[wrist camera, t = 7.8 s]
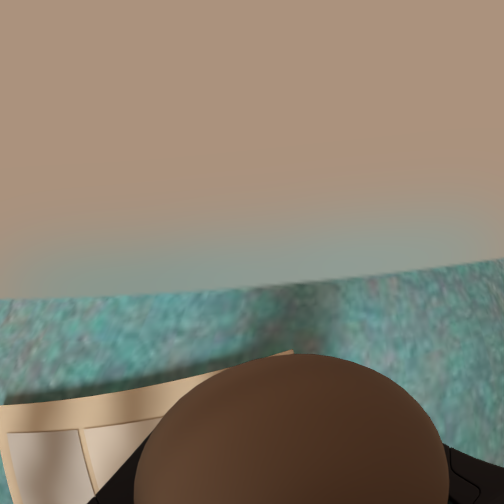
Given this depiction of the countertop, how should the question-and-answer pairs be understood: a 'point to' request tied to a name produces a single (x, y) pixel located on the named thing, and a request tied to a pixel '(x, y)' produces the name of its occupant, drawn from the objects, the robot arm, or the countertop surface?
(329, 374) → the pawn
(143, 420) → the board
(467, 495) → the robot arm
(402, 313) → the countertop surface
